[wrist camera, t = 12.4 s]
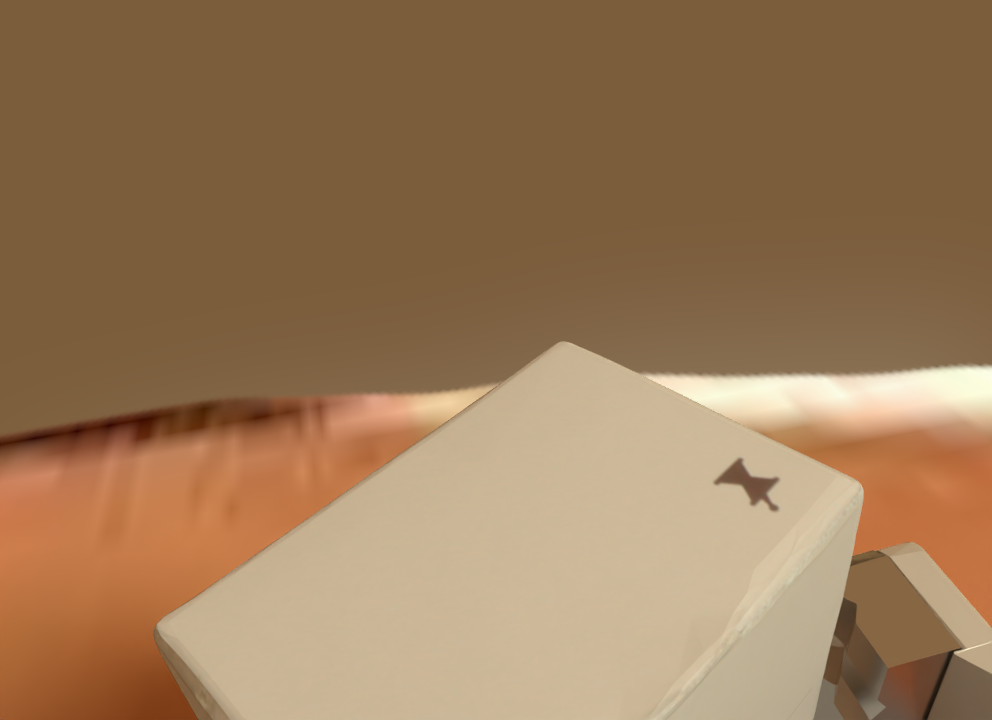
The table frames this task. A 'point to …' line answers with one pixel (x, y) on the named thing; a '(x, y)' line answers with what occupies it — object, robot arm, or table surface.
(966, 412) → the table surface
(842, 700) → the robot arm
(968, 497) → the table surface
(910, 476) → the table surface
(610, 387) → the skincare box
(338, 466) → the table surface
